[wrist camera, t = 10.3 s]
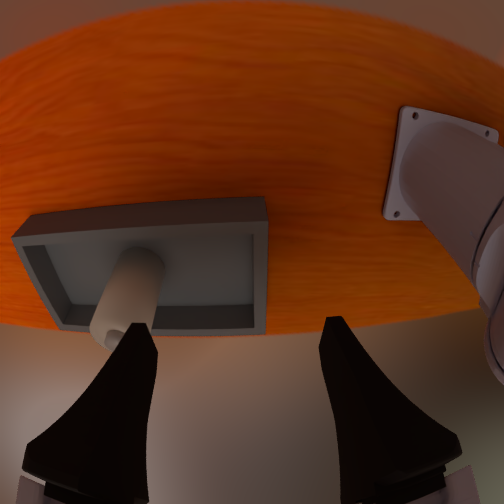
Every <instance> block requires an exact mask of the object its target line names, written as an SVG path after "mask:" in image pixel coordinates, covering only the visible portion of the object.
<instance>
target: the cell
mask: <svg viewBox="0 0 504 504" xmlns="http://www.w3.org/2000/svg"><path fill="white" fill-rule="evenodd" d="M164 275H165V266H164V264H163V262H162V260H161V259H160V257H159V256H158V255H157V254H155V253H154V252H152V251H150V250H148V249H145V248H141V247H132V248H129V249H126V250H125V251H123V252H122V253H121V255H120V256H119V259H118V261H117V263H116V265H115V267H114V269H113V271H112V274H111V276H110V278H109V280H108V282H107V285H106V287H105V289H104V292H103V294H102V296H101V299H100V301H99V303H98V306H97V308H96V311H95V313H94V316H93V318H92V321H91V323H90V327H89V329H90V333H91V335H92V337H93V338H94V340H95V341H96V342H97V343H98V344H99V345H101V346H102V347H104V348H105V349H107V350H109V351H111V352H113V351H114V350H115V348H116V346H117V345H118V343H119V342H120V340H121V339H122V337H123V335H124V334H125V332H126V331H127V329H128V328H129V326H130V324H131V323H146V325H147V327H148V329H149V332H150V333H151V328H152V324H153V320H154V315H155V311H156V307H157V303H158V299H159V295H160V291H161V287H162V283H163V279H164Z"/></svg>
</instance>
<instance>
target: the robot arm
mask: <svg viewBox="0 0 504 504" xmlns="http://www.w3.org/2000/svg"><path fill="white" fill-rule="evenodd" d="M414 112H415V113H416V116H415V118H412V114H413V113H414ZM485 133H486V134H485ZM498 138H499V134H498V131H497V130H495V129H493V128H490V127H487V126H484V125H481V124H478V123H475V122H471V121H468V120H464V119H461V118H457V117H454V116H450V115H446V114H442V113H438V112H434V111H429V110H425V109H420V108H415V107H410V106H404V107H402V108H401V109H400V113H399V122H398V129H397V137H396V143H395V150H394V156H393V162H392V168H391V173H390V179H389V184H388V189H387V194H386V199H385V204H384V208H383V216H384V217H385V219H387V220H421V221H422V222H423V223H424V224H425V225H426V227H427V228H428V229H429V230H430V231H431V232H432V233H433V235H434V236H435V237H436V238H437V239H438V241H439V242H440V243H441V244H442V245H443V247H444V248H445V249H446V250H447V252H448V253H449V254H450V255H451V257H452V258H453V259H454V260H455V262H456V263H457V264H458V266H459V267H460V268H461V270H462V271H463V272H464V274H465V275H466V276H467V278H468V279H469V280H470V282H471V283H472V285H473V286H474V287H475V289H476V290H477V292H478V293H479V295H480V301H479V305H480V307H481V308H482V310H483V311H484V313H485V314H486V316H487V317H488V319H489V320H488V322H487V325H486V328H485V334H484V349H485V354H486V358H487V361H488V363H489V366H490V368H491V369H492V371H493V373H494V374H495V376H496V377H497V378H498V380H499V381H500V382H501V383H502V384H503V385H504V148H503V147H502V146H500V145H498V144H497V143H498ZM396 211H398V212H397V214H395V215H394V213H395V212H396ZM319 353H320V360H321V367H322V372H323V376H324V380H325V383H326V387H327V391H328V394H329V399H330V403H331V406H332V410H333V414H334V419H335V425H336V432H337V441H338V451H339V464H340V487H341V488H340V489H341V495H340V499H341V504H359V503H362V504H480V500H479V495H478V491H477V487H476V483H475V479H474V475H473V471H472V468H471V465H468V466H466V467H465V468H462V469H460V470H458V471H456V472H454V473H452V474H450V475H448V476H446V477H444V475H443V472H445V471H446V467H445V464H446V463H448V462H450V461H452V460H454V459H455V458H457V457H459V456H460V455H461V454H462V449H461V446H460V443H459V440H458V437H457V435H456V434H455V433H453V432H451V431H450V430H448V429H447V428H445V427H443V426H442V425H440V424H439V423H437V422H436V421H435V420H433V419H432V418H431V417H429V416H428V415H427V414H425V413H424V412H423V411H422V410H420V409H419V408H418V407H417V406H416V405H415V404H413V403H412V402H411V401H410V400H409V399H408V398H407V397H406V396H405V395H404V394H403V393H402V392H401V391H400V390H398V388H397V387H396V386H395V385H394V384H393V383H392V382H391V381H390V380H389V379H388V378H387V377H386V375H385V374H384V373H383V372H382V371H381V370H380V368H379V367H378V366H377V365H376V364H375V362H374V361H373V360H372V358H371V357H370V356H369V355H368V353H367V352H366V351H365V349H364V348H363V346H362V345H361V344H360V342H359V341H358V339H357V338H356V337H355V335H354V334H353V332H352V331H351V329H350V328H349V326H348V325H347V323H346V322H345V320H344V319H343V317H342V316H333V317H326V321H325V325H324V329H323V332H322V336H321V340H320V344H319ZM157 358H158V351H157V349H156V347H155V344H154V342H153V339H152V337H151V334H150V332H149V329H148V327H147V325H146V323H131V324H130V326H129V328H128V329H127V331H126V332H125V334H124V335H123V337H122V339H121V340H120V342H119V343H118V345H117V346H116V348H115V350H114V351H113V353H112V354H111V356H110V357H109V359H108V360H107V362H106V363H105V365H104V366H103V368H102V369H101V370H100V372H99V373H98V374H97V376H96V377H95V379H94V380H93V381H92V383H91V384H90V385H89V386H88V388H87V389H86V390H85V392H84V393H83V394H82V395H81V396H80V397H79V398H78V400H77V401H76V402H75V403H74V404H73V405H72V406H71V407H70V408H69V409H68V410H67V411H66V413H64V414H63V415H62V416H61V417H60V418H59V419H58V420H57V421H56V422H55V423H53V424H52V425H51V426H50V427H49V428H48V429H47V430H45V431H44V432H43V433H42V434H40V435H39V436H37V437H36V438H35V439H34V440H32V441H31V442H29V443H28V444H27V446H26V450H25V455H24V460H23V465H22V469H23V471H25V472H28V473H29V474H31V475H33V476H35V477H37V478H40V479H42V480H44V481H46V483H45V486H44V485H42V484H39V483H37V482H35V481H33V480H30V479H28V478H26V477H24V476H20V479H19V485H18V492H17V499H16V504H147V503H148V502H149V496H148V486H147V470H146V438H147V423H148V416H149V411H150V405H151V399H152V394H153V389H154V384H155V378H156V371H157Z"/></svg>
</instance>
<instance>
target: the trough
mask: <svg viewBox="0 0 504 504" xmlns="http://www.w3.org/2000/svg"><path fill="white" fill-rule="evenodd" d="M11 239H12V241H13V244H14V246H15V248H16V250H17V252H18V255H19V257H20V259H21V261H22V263H23V265H24V267H25V269H26V271H27V273H28V275H29V277H30V279H31V281H32V283H33V285H34V287H35V288H36V290H37V292H38V294H39V296H40V298H41V299H42V301H43V303H44V305H45V306H46V308H47V310H48V311H49V313H50V315H51V316H52V318H53V320H54V321H55V323H56V324H57V326H58V327H59V329H60V330H67V331H78V332H90V329H89V327H90V323H91V321H92V318H93V316H94V313H95V311H96V308H97V306H98V303H99V301H100V299H101V296H102V294H103V292H104V289H105V287H106V285H107V282H108V280H109V278H110V276H111V274H112V271H113V269H114V267H115V265H116V263H117V261H118V259H119V256H120V255H121V253H122V252H123V251H125V250H126V249H129V248H132V247H141V248H145V249H148V250H150V251H152V252H154V253H155V254H157V255H158V256H159V257H160V259H161V260H162V262H163V264H164V266H165V275H164V279H163V283H162V287H161V291H160V295H159V299H158V303H157V307H156V311H155V315H154V320H153V324H152V328H151V333H150V334H151V336H234V335H260V334H265V330H266V299H267V262H268V216H267V211H266V205H265V200H264V197H238V198H214V199H195V200H178V201H163V202H150V203H138V204H126V205H115V206H105V207H95V208H86V209H77V210H69V211H61V212H53V213H45V214H38V215H31V216H30V217H29V218H28V219H27V220H26V221H25V222H24V223H23V224H22V226H21V227H20V228H19V229H18V230H17V231H16V232H15V233H14V235H13V236H12V237H11Z"/></svg>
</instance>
